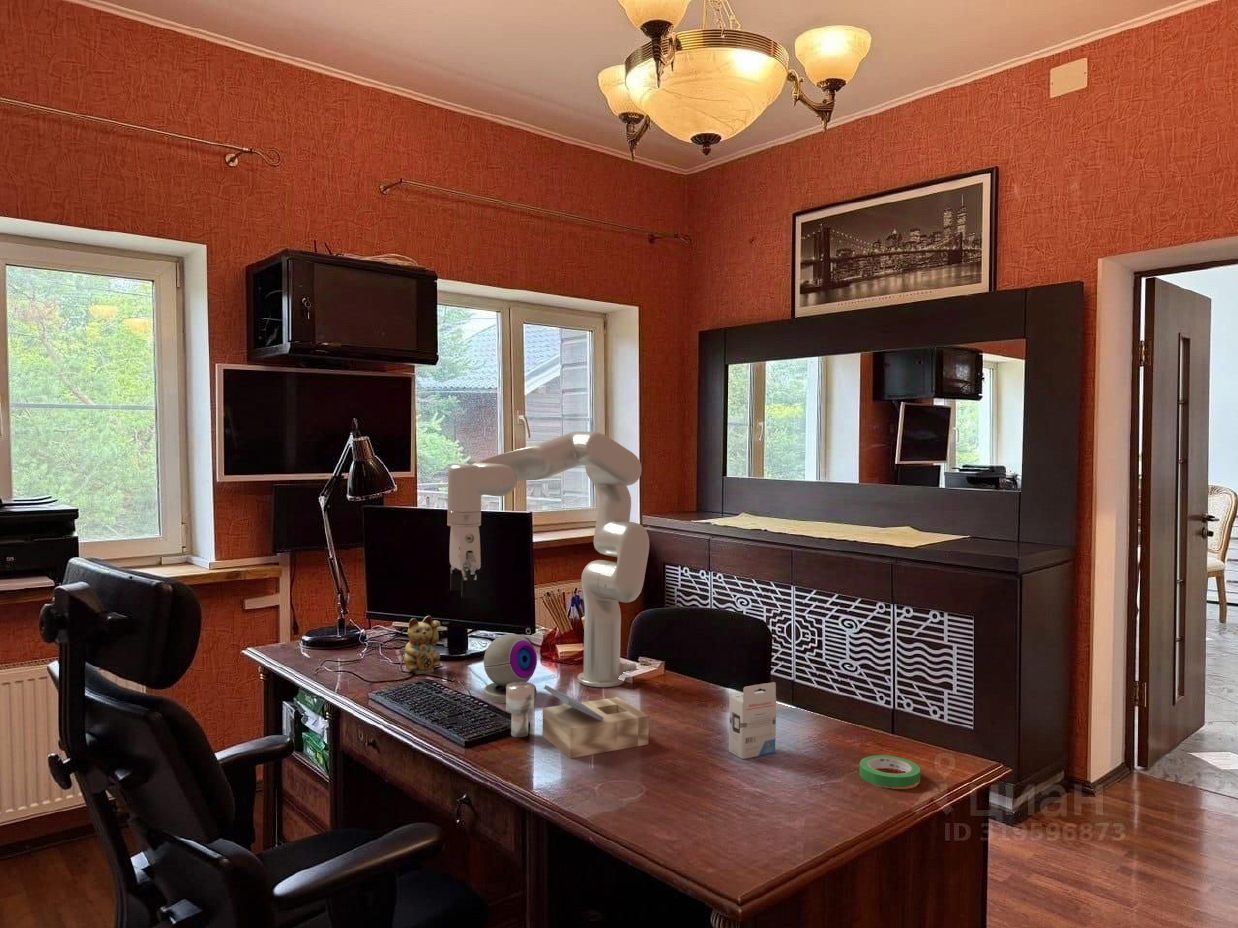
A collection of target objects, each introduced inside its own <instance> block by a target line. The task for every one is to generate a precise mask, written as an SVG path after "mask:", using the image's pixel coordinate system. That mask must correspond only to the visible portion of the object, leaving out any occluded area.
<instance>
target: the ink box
mask: <svg viewBox="0 0 1238 928" xmlns="http://www.w3.org/2000/svg"><path fill="white" fill-rule="evenodd" d="M760 689H761V690H760ZM776 689H777V684H776V682H774V681H772V682H768V683H767V682H766V683H760V684H753V685H749V686H748V685H747V686H744V687H743V690H742V691H743V693H740V694H732V695H729V719H728V721H729V722H728V723H729V725H728V727H729V728H728V752H729V753H731V754H732V755H734V756H736V757H737V758H739V759H742V760H745V759H750V758H751V759H752V758H754V757H755V758H756V757H760V756H764V755H770V754H774V753H776V732H777V730H776V729H777V728H776V727H777V696H776V695H777V690H776Z"/></svg>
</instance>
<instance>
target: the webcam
mask: <svg viewBox="0 0 1238 928" xmlns="http://www.w3.org/2000/svg"><path fill="white" fill-rule="evenodd" d="M537 665H538V656H537V651H536V649H535V647H534V646H533V644H532V643H531V641H529V640H528V638H526V637H525V636H522V635H520V634H516V633H515V634H514V633H507V634H506V633H505V634H503V635H500V636H498V637H496V638H495V639H494V640H493V641H491V642H490V643H489V645H488V646H487V648H486V650H485V652H484V656H483V668H484V671H485V674H486V676H487V677H488V678H489V680H490V681H491V683H489V684H487V685H486V686H485V687H484V689H483V693H482V694H483V695H482V697H483V698H485V699H486V700H487V701H490V702H494V703H501V704H506V685H507V684H509V683H513V682H529V680H531V678H532V677H533V675H534V673H535V671H536V668H537ZM537 691H538V690H537V687H536V686H535V685H534V695H537V693H538V692H537Z"/></svg>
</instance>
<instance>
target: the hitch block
mask: <svg viewBox="0 0 1238 928" xmlns="http://www.w3.org/2000/svg"><path fill="white" fill-rule="evenodd" d="M580 703H582V704H584V705H585V706H587V707H588V708H590V709H591V710H593V711H594V712H596V713H597V714H599V715H600V716H602V717H603V720H602V721H600V720H598V719H596V718H594V717H592V716H590V715H588V714H586V713H584V712H582V711H579V710H577V709H575V708H573V707H571V706H569V705H567V704H563V705H555V706H547V707H542V729H541V731H542V732H541V733H542V737H543V738H544V739H546V740H547V741H548V742H549V743H551V744H552V745H553V746H555V748H556V749H557V750H559V751H560V752H561V753H563V754H564V755H565V756H567V757H568V758H569V759H575V758H580V757H587V756H590V755H596V754H601V753H606V752H612V751H619V750H624V749H630V748H636V747H641V746H646V745H649V733H650V732H649V726H650V725H649V724H650V719H649V718H650V717H649V715H648V714H646V713H644V712H643V711H641V710H639V709H638V708H636V707H634V706H633V705H631V704H630V703H628V702H626V701H624V700H623V699H621V698H619V697H618V696H615V697H611V698H610V697H609V698H604V699H596V700H589V701H583V702H581V701H580Z"/></svg>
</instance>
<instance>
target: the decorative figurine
mask: <svg viewBox="0 0 1238 928" xmlns="http://www.w3.org/2000/svg"><path fill="white" fill-rule="evenodd" d="M440 626H441V621H438V619H437V620H435V619H434V620H433V618H432V616H431V615H427V616H425V617H424V618H423V620H422V621H418V619H416V618H411V619H410V620H409V623H408V629H407V636H408V638H409V641H408V642H407V643H406V644H405V646H404V651H405V654H404V656H403V662H404V665H405V668H406V669H408V670H410V671H413V673H414V674H416V675H421V674H422V675H423V674H428V673H434V672H435V669H434V668H436V667H440V666H441V662H440V661H439V660H440V659H441V654H440V651H438V650H437V649H435V648H434V646H436V645H437V644H438V642H439V637H440V636H439V631H438V628H440Z"/></svg>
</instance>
